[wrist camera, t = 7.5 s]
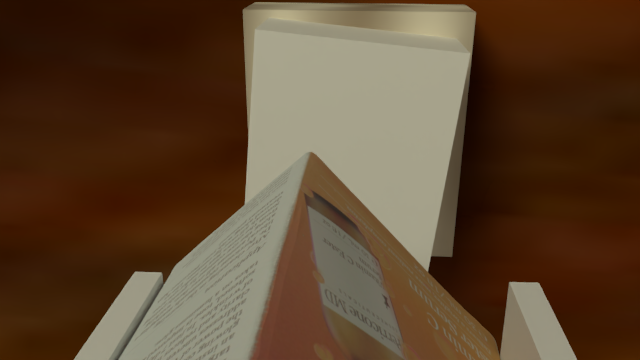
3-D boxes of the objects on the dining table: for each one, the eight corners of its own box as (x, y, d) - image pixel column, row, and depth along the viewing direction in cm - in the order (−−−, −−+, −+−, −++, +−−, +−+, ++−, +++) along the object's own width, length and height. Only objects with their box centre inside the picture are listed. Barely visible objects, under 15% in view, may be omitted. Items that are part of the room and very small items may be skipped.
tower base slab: (264, 218, 37) (253, 249, 33) (256, 1, 32) (242, 9, 28) (443, 224, 36) (451, 256, 33) (463, 3, 31) (476, 12, 28)
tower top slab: (255, 222, 33) (241, 258, 29) (269, 17, 29) (254, 29, 25) (419, 242, 32) (426, 281, 29) (456, 38, 28) (470, 53, 25)
